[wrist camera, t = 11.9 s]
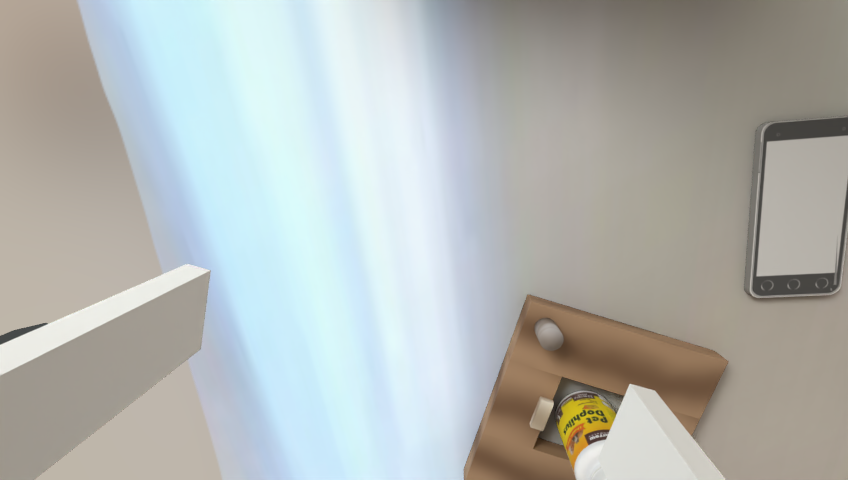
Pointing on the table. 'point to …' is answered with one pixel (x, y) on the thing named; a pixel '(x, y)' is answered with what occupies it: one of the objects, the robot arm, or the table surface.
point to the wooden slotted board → (584, 362)
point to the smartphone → (798, 208)
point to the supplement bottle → (584, 431)
